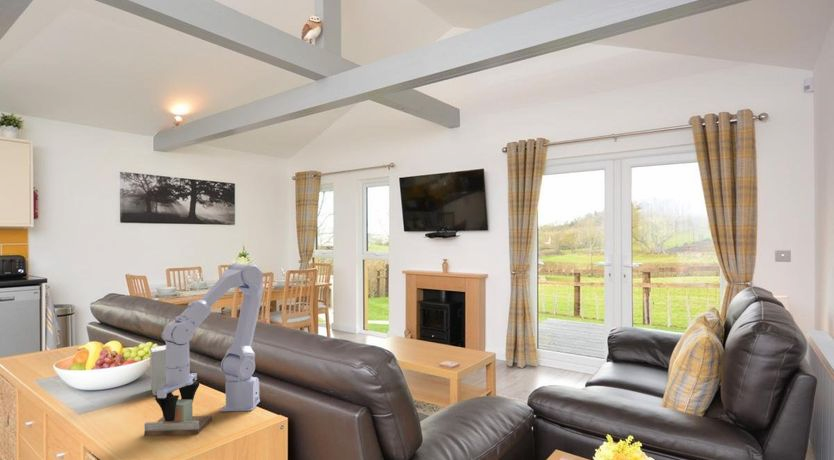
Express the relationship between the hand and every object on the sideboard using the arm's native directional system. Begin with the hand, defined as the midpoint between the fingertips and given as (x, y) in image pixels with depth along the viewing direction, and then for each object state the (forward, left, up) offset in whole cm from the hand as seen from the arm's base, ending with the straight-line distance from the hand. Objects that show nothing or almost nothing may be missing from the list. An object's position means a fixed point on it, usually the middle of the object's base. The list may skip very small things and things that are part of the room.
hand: (178, 414), depth 122 cm
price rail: (0, +4, -3) cm, 4 cm away
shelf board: (0, 0, -4) cm, 4 cm away
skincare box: (+21, -30, -4) cm, 37 cm away
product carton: (0, 0, -2) cm, 3 cm away
